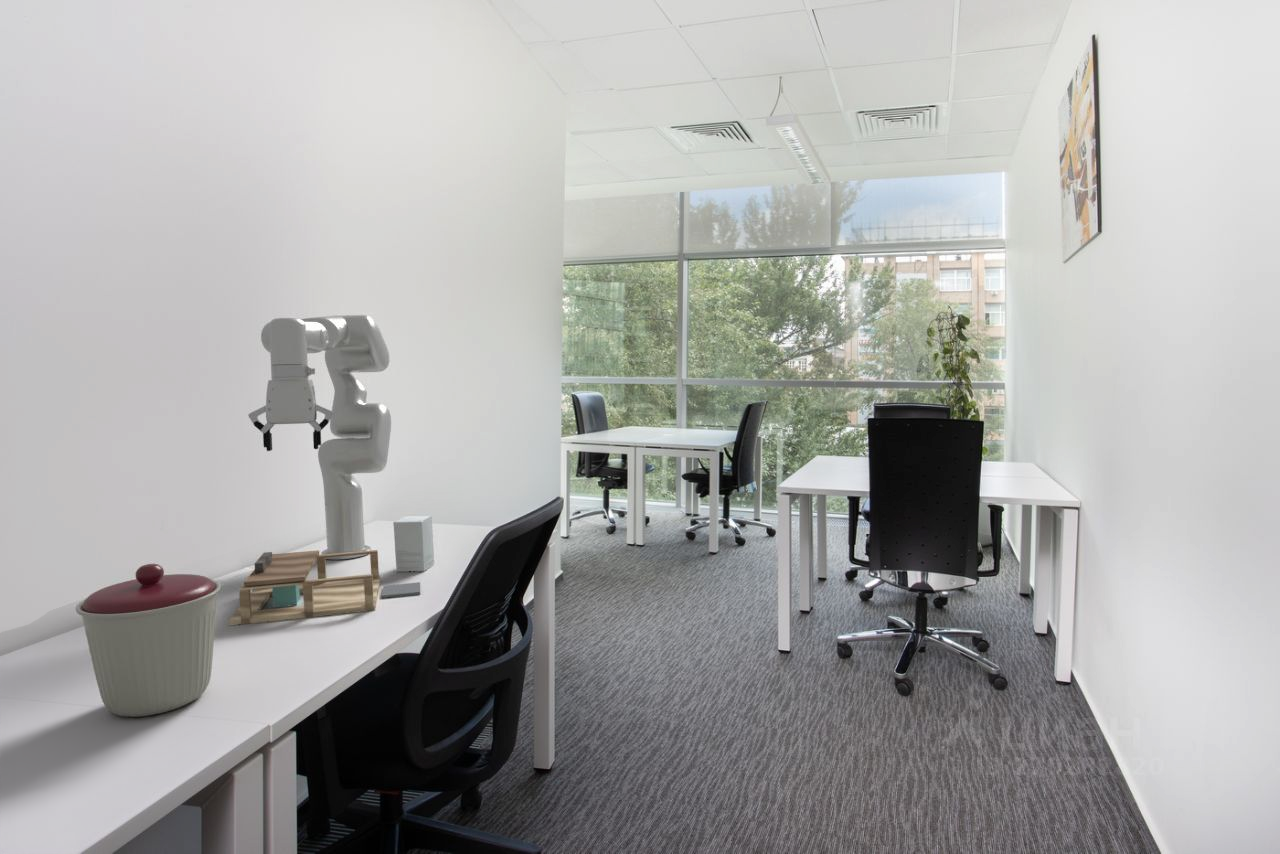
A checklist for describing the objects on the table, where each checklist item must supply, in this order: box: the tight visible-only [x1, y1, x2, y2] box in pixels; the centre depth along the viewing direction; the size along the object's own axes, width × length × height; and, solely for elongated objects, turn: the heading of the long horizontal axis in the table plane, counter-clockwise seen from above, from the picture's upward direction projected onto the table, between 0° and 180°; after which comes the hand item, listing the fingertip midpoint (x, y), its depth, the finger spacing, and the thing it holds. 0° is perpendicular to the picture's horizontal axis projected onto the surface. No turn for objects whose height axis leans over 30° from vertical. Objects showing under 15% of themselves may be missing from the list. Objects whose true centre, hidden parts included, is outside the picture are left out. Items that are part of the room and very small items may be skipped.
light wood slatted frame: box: [228, 549, 381, 626], centre depth 161 cm, size 24×27×7 cm
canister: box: [75, 563, 222, 718], centre depth 112 cm, size 18×18×21 cm
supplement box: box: [393, 515, 435, 573], centre depth 186 cm, size 7×7×13 cm
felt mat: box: [381, 581, 421, 599], centre depth 167 cm, size 8×8×1 cm
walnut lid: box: [243, 550, 320, 586], centre depth 160 cm, size 24×11×3 cm, turn 17°
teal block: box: [272, 585, 301, 608], centre depth 160 cm, size 4×4×7 cm
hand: (293, 449), depth 168 cm, fingers open, 9 cm apart
